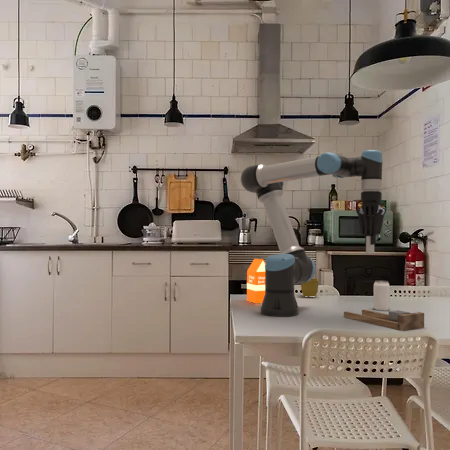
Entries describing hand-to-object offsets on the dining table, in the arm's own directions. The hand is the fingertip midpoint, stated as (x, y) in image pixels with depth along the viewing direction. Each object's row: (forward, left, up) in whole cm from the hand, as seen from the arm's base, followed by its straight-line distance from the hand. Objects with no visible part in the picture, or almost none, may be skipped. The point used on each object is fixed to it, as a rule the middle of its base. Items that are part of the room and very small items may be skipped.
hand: (370, 253), depth 171 cm
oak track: (-1, -6, -25) cm, 25 cm away
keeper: (-1, -14, -25) cm, 29 cm away
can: (+20, +12, -25) cm, 34 cm away
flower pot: (+16, +54, -25) cm, 62 cm away
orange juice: (-16, +52, -25) cm, 60 cm away
